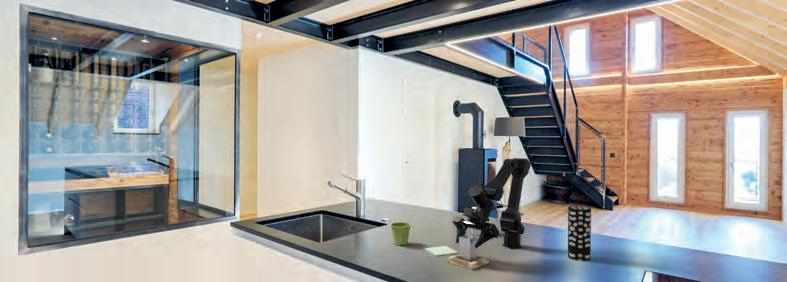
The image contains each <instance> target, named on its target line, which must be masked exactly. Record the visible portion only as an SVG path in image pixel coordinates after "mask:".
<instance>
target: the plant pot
mask: <svg viewBox="0 0 787 282" xmlns="http://www.w3.org/2000/svg"><path fill="white" fill-rule="evenodd" d="M389 224H390V228H391V231H392V238H393V244H394V245H396V246H401V245H402V246H406V245H408V243H409V238H410V236H409V235H410V230H411V227H412V224H411V223H409V222H405V221H404V222H403V221H397V222H392V223H389Z"/></svg>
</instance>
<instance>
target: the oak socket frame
mask: <svg viewBox="0 0 787 282" xmlns="http://www.w3.org/2000/svg"><path fill="white" fill-rule="evenodd" d="M447 264H450V265H453V266H458V267H461V268H464V269H466V270H467V269H468V270H470V271H471V270H476V269H478V268H480V267H482V266H485V265H488V264H489V257H486V256H482V255H479V254H477V260H476V261H473V262H467V261H464V260H460V259H459V253H457V254H453V255H451V256H448V257H447Z"/></svg>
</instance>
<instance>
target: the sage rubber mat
mask: <svg viewBox="0 0 787 282" xmlns="http://www.w3.org/2000/svg"><path fill="white" fill-rule="evenodd" d="M424 250H425V251H426V252H428V253H430V254H431V255H433V256H435V255H436V257H442V256H447V255H457V254H459V251H457V250H455V249H452V248H450V247H448V246H446V245H441V246H433V247H425V248H424Z"/></svg>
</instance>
